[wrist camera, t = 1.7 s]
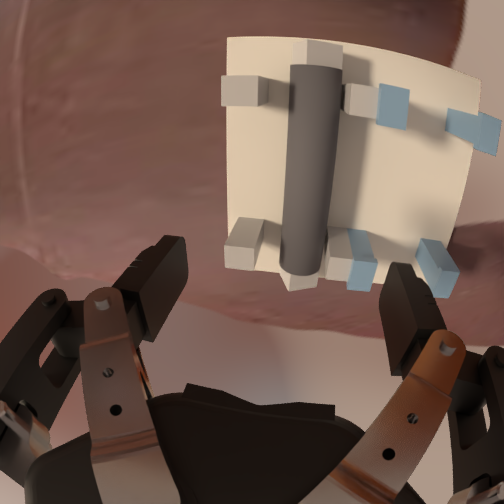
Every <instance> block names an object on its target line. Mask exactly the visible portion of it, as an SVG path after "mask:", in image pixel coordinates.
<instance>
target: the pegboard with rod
mask: <svg viewBox="0 0 504 504" xmlns="http://www.w3.org/2000/svg"><path fill="white" fill-rule="evenodd" d="M306 39H308V38H294V37H227V76H221V106H227V201H228V239H227V241H226V243H225V245H224V254H225V268H233V269H241V270H249V271H254V270H260V271H268V272H277V273H280V265H279V257H280V244H281V230H282V216H283V202H284V186H285V170H286V152H287V133H288V111H289V86H290V65H292V50H293V43H296V42H299V41H303V40H306ZM309 40H316V41H322V42H327V43H333V44H338V45H343V61H342V70H343V71H342V89H341V105H340V118H339V130H338V140H337V151H336V160H335V169H334V178H333V186H332V194H331V201H330V209H329V216H328V223H327V229H326V236H325V242H324V248H323V254H322V260H321V266H320V269H319V276H318V277H322V278H326V279H329V280H338V281H347V289H348V290H358V291H368V292H370V289H371V286H372V283H380V284H384V282H385V279H386V276H387V273H388V269H389V266H390V264H391V263H392V262H401V263H410V264H411V265H412V267H413V269H414V271H415V274H416V276H417V277H419V278H422V279H423V280H424V281H425V282H426V284H427V285H428V286H429V287H430V289H431V292H432V294H433V297H438V298H449V296H450V294H451V292H452V289H453V287H454V285H455V283H456V281H457V278H458V276H459V274H460V270H459V269H458V267H457V266H456V264H455V262H454V261H453V259H452V258H451V256H450V254H449V253H448V251H447V250H446V249H447V246H448V243H449V240H450V237H451V234H452V231H453V228H454V225H455V222H456V218H457V215H458V212H459V208H460V204H461V201H462V197H463V193H464V189H465V185H466V181H467V177H468V172H469V167H470V163H471V158H472V153H473V148H474V149H476V150H479V151H482V152H485V153H488V154H491V155H494V156H496V153H497V147H498V141H499V135H500V129H501V120H499V119H497V118H494V117H492V116H489V115H487V114H484V113H482V112H479V104H480V93H481V92H480V91H481V80H479V79H477V78H474V77H472V76H469V75H467V74H464V73H462V72H459V71H456V70H454V69H451V68H448V67H445V66H442V65H439V64H436V63H433V62H430V61H426V60H423V59H419V58H416V57H412V56H409V55H405V54H401V53H397V52H392V51H388V50H383V49H379V48H374V47H368V46H363V45H357V44H351V43H344V42H337V41H329V40H319V39H309Z"/></svg>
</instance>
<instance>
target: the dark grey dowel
mask: <svg viewBox="0 0 504 504" xmlns="http://www.w3.org/2000/svg"><path fill="white" fill-rule="evenodd" d="M342 61H343V45H338V44H333V43H327V42H322V41H316V40H309V39H306V40H303V41H299V42H296V43H293V50H292V65H290V86H289V111H288V133H287V152H286V170H285V186H284V202H283V216H282V230H281V244H280V257H279V265H280V275H281V277H282V279H283V281H284V283H285V285H286V287H287V289H288V291H294V290H300V289H307V288H313V287H317V281H318V276H319V269H320V266H321V260H322V254H323V248H324V242H325V236H326V229H327V223H328V216H329V209H330V201H331V194H332V186H333V178H334V169H335V160H336V151H337V140H338V130H339V118H340V105H341V89H342V71H343V70H342Z"/></svg>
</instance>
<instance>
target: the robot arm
mask: <svg viewBox="0 0 504 504" xmlns="http://www.w3.org/2000/svg"><path fill="white" fill-rule="evenodd" d="M187 279H188V262H187V253H186V244H185V239H184V238H183V237H180V236H171V235H164V236H163V237H162V238H161V239H160V241H159V242H158V243H157V244H156V245H155V246H150V247H149V248H147V249H145V250H144V251H142V252H141V253H140V254H139V255H138V256H137V257H136V259H135V261H133V262H132V263H131V264H130V267H128V268H127V269H126V270H125V271H124V272H123V274H122V275H121V276H120V277H119V278H118V280H117V281H116V282H115V283H114V284H113V286H112V287H103V288H99V289H97V290H95V291H93V292H92V293H90V294H89V295H88V296H87V297H86V299H85V300H83V301H68V298H67V296H66V294H65V292H64V291H63V290H61V289H50V290H47V291H45V292H43V293H42V294H40V296H38V297H37V298H36V300H35V301H34V302H33V303H32V304H31V305H30V307H29V308H28V309H27V310H26V311H25V312H24V314H23V315H22V316H21V317H20V319H19V320H18V321H17V322H16V324H15V325H14V326H13V327H12V329H11V330H10V331H9V332H8V334H7V335H6V336H5V338H4V339H3V340H2V342H1V343H0V470H1V471H3V472H4V473H5V474H6V475H8V476H9V477H10V478H12V479H13V480H14V481H15V482H17V483H18V484H20V485H21V486H22V487H24V490H25V504H426V503H425V502H424V501H423V499H422V498H421V497H420V496H419V495H418V494H417V493H416V491H415V490H414V489H413V488H412V487H411V486H410V484H409V483H408V482H407V480H408V479H409V477H410V476H411V474H412V473H413V471H414V470H415V468H416V466H417V465H418V463H419V462H420V460H421V458H422V457H423V455H424V453H425V452H426V450H427V448H428V447H429V445H430V443H431V441H432V439H433V438H434V436H435V434H436V432H437V430H438V428H439V426H440V424H441V422H442V420H443V418H444V416H445V414H446V412H447V414H448V421H449V429H450V438H451V449H452V463H453V491H454V492H453V496H452V497H451V498H450V500H449V502H448V504H504V348H502V347H499V346H491V347H489V348H488V349H487V351H486V352H485V353H484V355H480V354H477V353H473V352H470V351H467V350H466V346H465V344H464V342H463V340H462V339H461V338H460V337H459V336H458V335H457V334H455V333H454V332H452V331H449V330H447V328H446V325H445V323H444V320H443V318H442V315H441V313H440V310H439V308H438V305H436V304H437V303H436V301H435V298H433V294H432V292H431V289H430V287H429V286H428V285H427V284H426V282H425V281H424V280H423V279H422V278H419V277H417V276H416V274H415V271H414V269H413V267H412V265H411V264H410V263H401V262H392V263H391V264H390V266H389V269H388V273H387V276H386V279H385V282H384V285H383V288H382V291H381V294H380V298H379V311H380V316H381V321H382V326H383V331H384V336H385V341H386V346H387V352H388V358H389V365H390V371H391V376H402V379H403V382H402V383H401V385H400V386H399V387H398V389H397V390H396V392H395V393H394V395H393V396H392V398H391V399H390V400H389V402H388V403H387V404H386V406H385V407H384V409H383V410H382V411H381V413H380V414H379V415H378V417H377V418H376V419H375V420H374V422H373V423H372V424H371V426H370V427H369V428H368V429H367V430H366V432H364V431H363V430H362V429H361V428H359V427H358V426H357V425H355V424H353V423H352V422H350V421H348V420H346V419H344V418H341V417H339V416H335V405H327V404H315V403H304V402H294V403H284V404H273V405H256V404H253V403H250V402H248V401H245V400H243V399H241V398H238V397H236V396H233V395H231V394H229V393H226V392H224V391H222V390H216V389H211V388H207V387H203V386H198V385H194V384H189V383H187V385H186V387H185V390H184V392H183V393H170V394H164V395H160V396H157V397H155V395H154V393H153V390H152V387H151V384H150V381H149V378H148V375H147V371H146V368H145V365H144V361H143V358H142V354H141V350H140V348H139V345H140V343H141V341H142V340H145V341H149V342H154V340H155V338H156V337H157V335H158V333H159V331H160V329H161V327H162V326H163V324H164V322H165V320H166V319H167V317H168V315H169V313H170V311H171V310H172V308H173V306H174V304H175V303H176V301H177V299H178V297H179V296H180V294H181V292H182V290H183V289H184V287H185V285H186V283H187ZM50 340H51V341H52V343H53V344H54V346H55V347H54V349H53V350H52V352H51V353H50V355H49V356H48V358H47V359H46V361H45V362H44V364H43V365H42V367H41V368H40V366H39V357H40V354H41V353H42V351H43V350H44V348H45V347H46V345H47V344H48V342H49V341H50ZM80 371H81V376H82V385H83V393H84V400H85V407H86V414H87V420H88V425H89V432H87V433H85V434H84V435H81V436H79V437H77V438H75V439H73V440H71V441H69V442H67V443H65V444H63V445H61V446H59V447H57V448H55V449H52V446H51V444H50V434H49V430H50V428H51V426H52V424H53V422H54V420H55V418H56V416H57V414H58V412H59V410H60V408H61V406H62V404H63V402H64V401H65V399H66V397H67V395H68V393H69V391H70V389H71V388H72V386H73V384H74V382H75V380H76V378H77V377H78V375H79V373H80ZM486 404H487V407H488V412H489V417H490V427H489V430H488V432H487V429H486V423H485V418H484V413H483V407H484V406H485V405H486Z"/></svg>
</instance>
